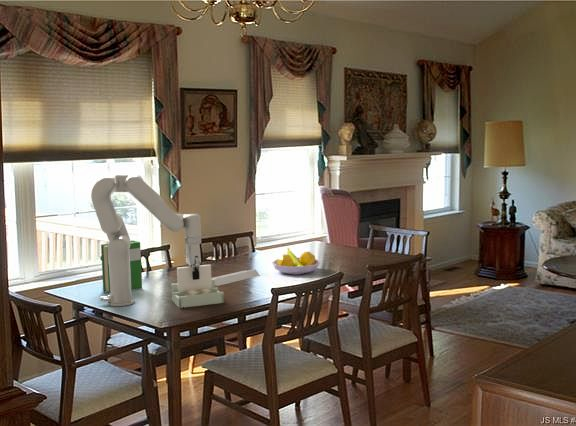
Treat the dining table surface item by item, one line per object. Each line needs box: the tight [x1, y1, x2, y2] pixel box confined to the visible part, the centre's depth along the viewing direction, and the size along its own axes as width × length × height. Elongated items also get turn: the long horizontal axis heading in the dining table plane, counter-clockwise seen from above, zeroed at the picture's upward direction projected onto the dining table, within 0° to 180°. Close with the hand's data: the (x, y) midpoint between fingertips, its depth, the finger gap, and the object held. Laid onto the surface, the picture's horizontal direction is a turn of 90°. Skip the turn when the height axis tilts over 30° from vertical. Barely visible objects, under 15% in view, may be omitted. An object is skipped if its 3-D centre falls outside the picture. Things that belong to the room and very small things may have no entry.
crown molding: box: [211, 268, 261, 287], centre depth 360 cm, size 31×12×4 cm, turn 137°
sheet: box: [176, 264, 212, 292], centre depth 317 cm, size 16×2×16 cm, turn 113°
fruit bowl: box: [271, 247, 321, 276], centre depth 376 cm, size 28×27×11 cm
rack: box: [170, 279, 225, 309], centre depth 313 cm, size 21×15×8 cm
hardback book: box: [100, 240, 143, 294], centre depth 338 cm, size 18×7×24 cm, turn 129°
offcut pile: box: [185, 288, 212, 296], centre depth 311 cm, size 12×6×6 cm, turn 116°
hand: (194, 277), depth 316 cm, fingers open, 5 cm apart
